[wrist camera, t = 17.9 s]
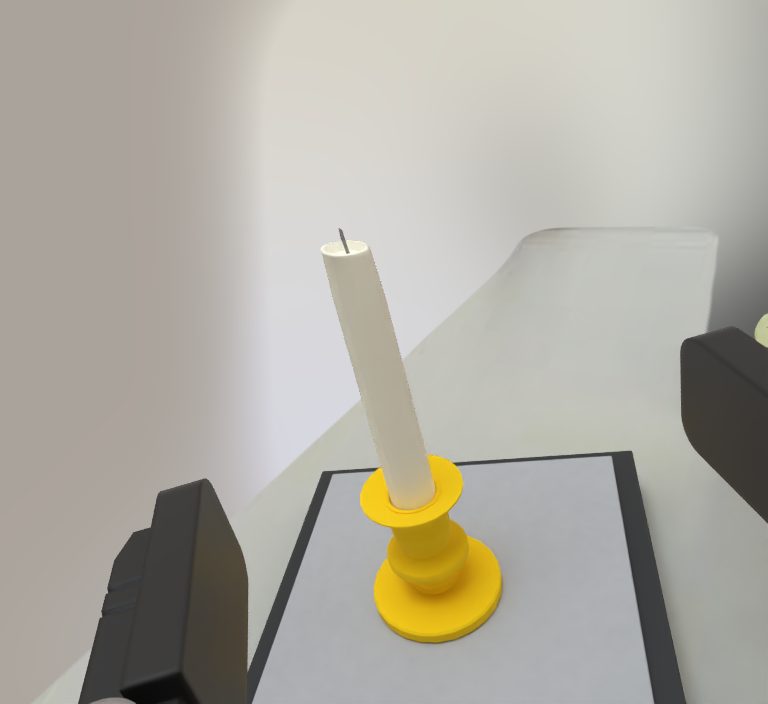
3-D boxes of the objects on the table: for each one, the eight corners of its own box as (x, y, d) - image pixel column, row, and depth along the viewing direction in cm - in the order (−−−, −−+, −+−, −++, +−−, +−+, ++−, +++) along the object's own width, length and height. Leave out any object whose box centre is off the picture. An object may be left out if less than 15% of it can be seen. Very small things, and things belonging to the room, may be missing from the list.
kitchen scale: (230, 816, 24) (200, 770, 23) (334, 503, 38) (319, 462, 37) (709, 854, 20) (709, 801, 19) (634, 487, 34) (631, 440, 32)
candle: (480, 525, 30) (405, 184, 22) (522, 619, 25) (445, 229, 18) (366, 560, 30) (253, 227, 22) (388, 662, 25) (254, 284, 18)
